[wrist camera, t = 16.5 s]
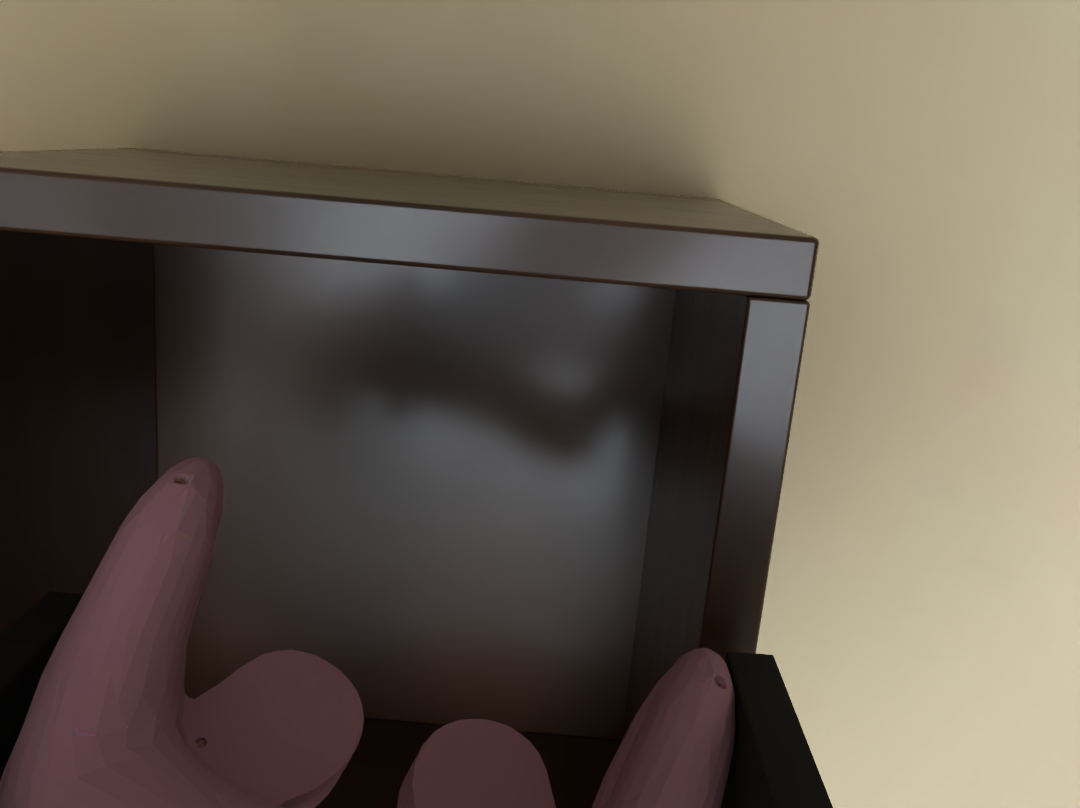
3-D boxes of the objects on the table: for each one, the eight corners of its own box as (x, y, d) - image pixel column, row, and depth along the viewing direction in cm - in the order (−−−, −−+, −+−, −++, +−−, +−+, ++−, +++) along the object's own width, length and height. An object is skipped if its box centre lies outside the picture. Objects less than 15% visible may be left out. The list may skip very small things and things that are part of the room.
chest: (721, 199, 25) (821, 238, 16) (650, 752, 29) (694, 1054, 20) (128, 147, 25) (-141, 154, 16) (141, 708, 29) (-66, 989, 20)
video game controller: (148, 583, 18) (-119, 1007, 13) (167, 412, 15) (-173, 875, 10) (654, 769, 19) (599, 1244, 13) (769, 641, 16) (755, 1189, 10)
